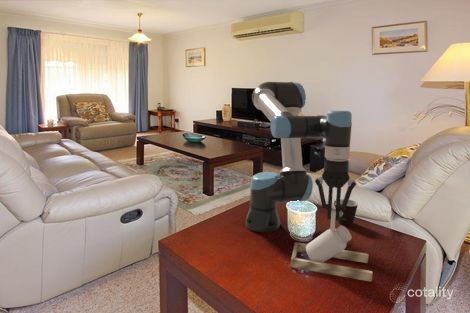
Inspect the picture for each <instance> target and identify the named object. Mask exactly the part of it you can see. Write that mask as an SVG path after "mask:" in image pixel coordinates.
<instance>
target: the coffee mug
mask: <svg viewBox="0 0 470 313" xmlns="http://www.w3.org/2000/svg"><path fill="white" fill-rule="evenodd" d="M343 200H344V198H340V205H342V203H343ZM358 204H359V203H358V202H356V201H355V200H352V199H349V201H348V203H347V206H346V209H345V210H341V211H340V212H339V220H337V222H338V224H339V226H344V227H351V226H354V222H355V217H356V215H357V214H356V213H357V210H358V207H359V206H358ZM333 205H334V209H336V200H334V203H333Z"/></svg>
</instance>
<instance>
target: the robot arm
mask: <svg viewBox="0 0 470 313" xmlns="http://www.w3.org/2000/svg"><path fill="white" fill-rule="evenodd" d="M306 95H307V94H306V91H305V88H304V86H303V85H302V84H301V83H299V82H293V81H290V82H289V81H265V82H262V83H261V84H259V85H257V86H256V87H255V88H254V90H253V92H252V93H251V101H252V104H253V106H254V107H255V108H256V109H257V110H259V111H261V112H262V114H264V115H265V116H266V118H267V119H268V120H269V121H270V126H269V127H270V133H271V135H272V137H274V139H275V138H276V139H280V144H281V158H282V159H281V160H282V168H281V169H280V171H279V174H278V173H277V172H275V171H262V172H258V173H256V174H254V175H252V177H251V180H250V186H249V188H250V195H249V196H250V197H249V210H248V212H247V215H246V218H245V228H247V229H249V230H251V231H253V232H257V233H273V232H276V231H278V230H279V229H280V228H281V220H280V218H279V213H278V209H277V208H278V205H277V204H279V203H281V204H282V203H291V202H290V201H297V200H299V201H300V202H306V201H308V200H309V199H310V198H311V196H312V193H313V188H314V187H313V184H314V182H315V184H316V186H317V187H318V193H319V198H320V203H321V207H322V209H326V211H327V217H326V218H327V220H330V228H329V229H330V230H334V231H335V229H336V221H338V220H339V212H340V211H341V210H345V209H346V206H347V203H348V201H349V200H350V197H351V195H352V191H353V189H354V188H355V187H356V186H357V182H356V181H355V180H353V179H351V178H350V175H349V164H350V162H349V159H350V151H351V150H350V149H351V146H350V145H351V139H352V138H351V136H352V127H353V121H352V120H353V119H352V112H351V111H349V110H329V111H327V114H326V115H324V114H323V115H322V114H321V115H299V114H300V113H301V112H302V108H304V107H305V105H306V100H307V98H306V97H307V96H306ZM306 138H307V139H310V138H311V139H317V138H318V139H325V145H324V162H323V163H324V164H323V172H322V174H321V176H320V177H317V178H315V180H314V182H313V179H312V176H311V175H309V174H308V173H307V170H306V169H305V168H304V167H303V157H302V156H303V155H302V154H303V153H302V145H301V144H302V142H301V139H306ZM324 182H325V185H326V186H328V194H327V195H328V198H327V200H326V196H325V192H324V188H323V183H324ZM346 183H347V189H346V192H345V194H344V196H343V199H344V200H343V203H342V205H340V199H341V195H342V193H341V192H342V188H344V186H345V185H346ZM333 188H335V189H336V199H335V201H336V203H335V205H336V208H333V191H334V190H333ZM326 201H327V202H326Z"/></svg>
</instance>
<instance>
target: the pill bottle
mask: <svg viewBox="0 0 470 313" xmlns="http://www.w3.org/2000/svg"><path fill="white" fill-rule="evenodd" d="M351 240H352V234H351V233H350V231H349V230H348V228H347V227H346V226H343V225H339V226H338V227H337V228H335V231H334V230H330V228H329V229H327V230H325V231H324V232H322V233H321V234H320V235H318V236H317V237H315V238H314V239H313V240H311V241H310V242H308V243H306V244H307V245H306V252H307V253H306V254H307V256H308V258H309V260H310V261H316V262H321V263H326V262H327V261H328V260H330V259H331V258H333V256H335V255H336V254H338V253H339V252H341V251H342V250H346V248H347V243H348V242H349V241H351Z"/></svg>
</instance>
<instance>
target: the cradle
mask: <svg viewBox="0 0 470 313" xmlns="http://www.w3.org/2000/svg"><path fill="white" fill-rule="evenodd" d="M307 244H308V243H304V242H303V243H301V242H297V241H296V242H294V245H293V250H292V254H291V258H290V268H292V269H293V268H294V269H298V270H304V271H310V272H316V273H321V274H327V275H333V276H338V277H344V278H350V279H353V280H354V279H355V280H360V281H366V282H371V283H372V281H373V271H371V270H367V269H362V268H361V269H360V268H356V267H355V268H354V267H350V266H343V265H338V264H332V263H326V262H324V263H321V262H316V261H312V260H311V259H303V258H297V254H298V253H303V254H305V253H306V254H307V252H306V245H307ZM332 258H333V259H339V260H347V261H352V262H358V263H364V264H368V262H369V253H365V252H359V251H353V250H346V249H344V250H342V251H341V252H339V253H338V254H336V255H335V256H333V257H332Z"/></svg>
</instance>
